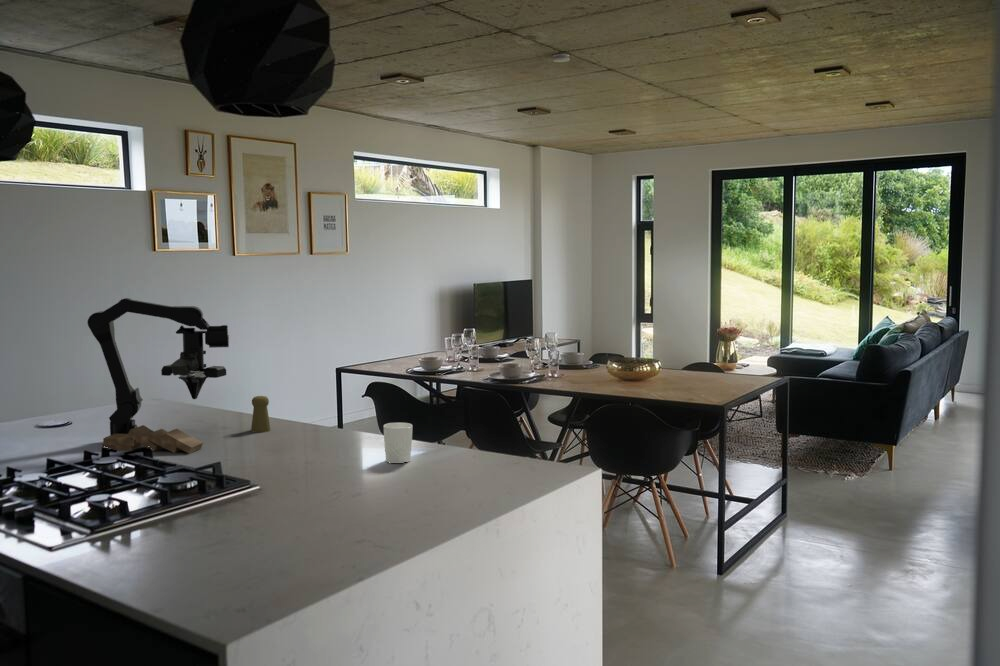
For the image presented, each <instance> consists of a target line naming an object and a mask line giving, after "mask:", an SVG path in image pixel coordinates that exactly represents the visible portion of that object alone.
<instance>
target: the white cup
mask: <svg viewBox="0 0 1000 666" xmlns="http://www.w3.org/2000/svg"><path fill="white" fill-rule="evenodd" d="M383 441H384V452H385V462H386V461H387V462H390V463H389V464H391V463H402V462H408V461H409V460H410V461H411V455H412V454H411V453H412V446H413V445H412V443H413V424H412V423H409V422H388V423H385V424H383ZM387 462H386V463H387ZM408 463H409V462H408Z"/></svg>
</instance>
